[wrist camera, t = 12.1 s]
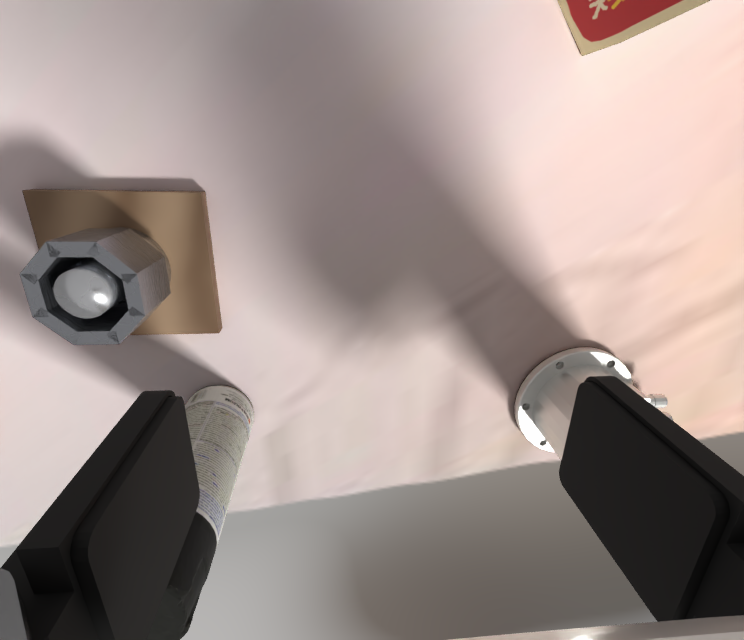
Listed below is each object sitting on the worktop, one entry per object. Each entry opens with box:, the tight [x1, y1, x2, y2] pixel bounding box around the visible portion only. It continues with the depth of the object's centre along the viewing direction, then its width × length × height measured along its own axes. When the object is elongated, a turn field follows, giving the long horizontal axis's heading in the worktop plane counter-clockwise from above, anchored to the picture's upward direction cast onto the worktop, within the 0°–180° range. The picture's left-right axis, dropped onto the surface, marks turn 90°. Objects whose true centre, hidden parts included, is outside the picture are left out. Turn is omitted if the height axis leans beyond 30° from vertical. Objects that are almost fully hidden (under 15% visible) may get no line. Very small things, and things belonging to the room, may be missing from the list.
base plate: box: [23, 189, 222, 335], centre depth 35 cm, size 13×12×1 cm
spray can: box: [147, 385, 254, 640], centre depth 32 cm, size 7×7×20 cm
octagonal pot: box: [20, 228, 171, 345], centre depth 30 cm, size 7×7×5 cm
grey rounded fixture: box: [52, 227, 171, 319], centre depth 31 cm, size 7×7×7 cm
